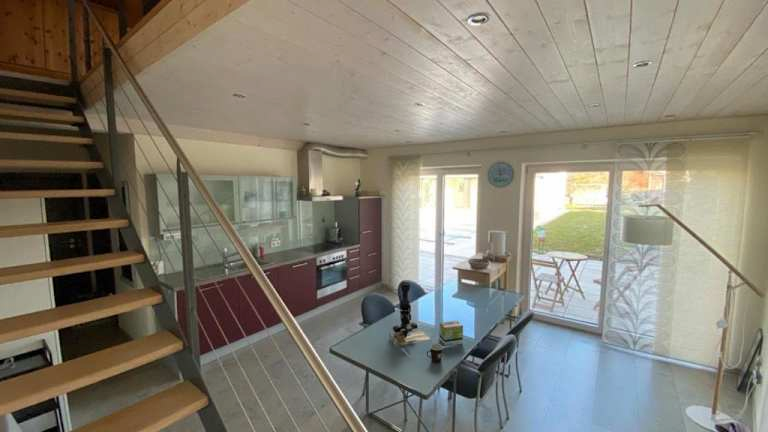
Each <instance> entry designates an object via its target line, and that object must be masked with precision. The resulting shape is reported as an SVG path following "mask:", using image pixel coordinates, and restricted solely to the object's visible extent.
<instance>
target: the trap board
mask: <svg viewBox="0 0 768 432" xmlns="http://www.w3.org/2000/svg"><path fill="white" fill-rule="evenodd" d="M389 340H390V341H391V343H392V344H393V345H394V346H395V347H396V348H397V349H400V348H403V346H406V345H410V344H414V343H419V342H423V341H428V340H431V338H430V337H429V336H428V335H427V334H426V333H425V332H424V331H423V330H418V331H414V332H413V331H412V332H408V334H407V337H406V338H405V337H404V342H401V343H399V341H398V340H397V339H396V338H395V337H394V334H392V333H391V332H390V333H389ZM412 341H414V342H412Z"/></svg>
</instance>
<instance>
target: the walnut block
mask: <svg viewBox="0 0 768 432" xmlns="http://www.w3.org/2000/svg"><path fill="white" fill-rule="evenodd" d="M393 336H394V337H395V338H396V339H397V340H398V341H399V343H401V342H404V335H403V333H402V331H400V332H398V333H395V332H394V333H393Z"/></svg>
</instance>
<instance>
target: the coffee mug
mask: <svg viewBox="0 0 768 432" xmlns="http://www.w3.org/2000/svg"><path fill="white" fill-rule="evenodd" d="M429 348H430V349H429V350H428V351H427V352H426V356H427V357H429V359H431V362H432V363H434V364H440V363H442V357H443V356H442V355H443V349H444V346H443V345H442V344H440V343H432V344H431V345H430V346H429ZM429 353H430V355H428V354H429Z"/></svg>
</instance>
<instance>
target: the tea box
mask: <svg viewBox="0 0 768 432" xmlns="http://www.w3.org/2000/svg"><path fill="white" fill-rule="evenodd" d="M438 331H439V338H438V339H439V341H440V342H442V344H443V345H444V346H443V347H448V346H456V345H462V344H463V343H464V342H463V338H464V337H463V336H464V326H463V324H462V323H460V322H459V320H452V321H444V322H443V321H442V322H439V330H438Z"/></svg>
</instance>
